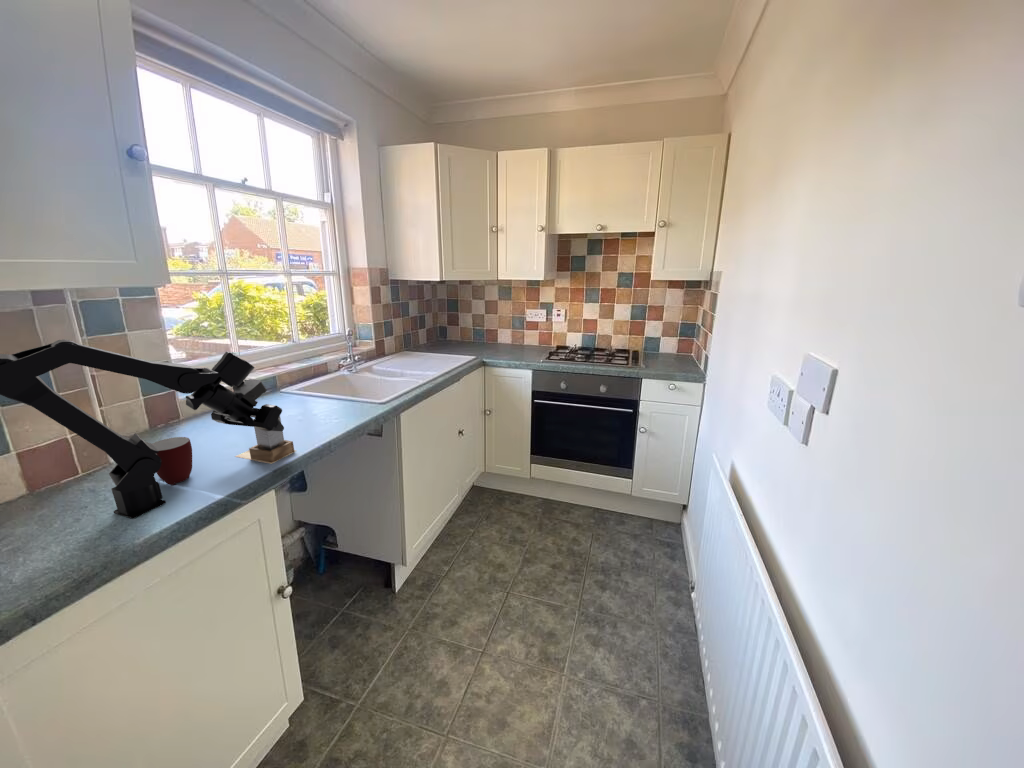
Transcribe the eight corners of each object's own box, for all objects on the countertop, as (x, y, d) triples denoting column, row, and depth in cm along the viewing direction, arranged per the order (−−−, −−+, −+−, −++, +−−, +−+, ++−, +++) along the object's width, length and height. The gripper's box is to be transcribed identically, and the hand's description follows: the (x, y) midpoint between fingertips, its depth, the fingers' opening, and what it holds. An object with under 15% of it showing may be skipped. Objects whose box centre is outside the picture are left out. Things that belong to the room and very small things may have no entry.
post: (272, 459, 110) (265, 421, 107) (259, 457, 111) (252, 419, 108) (286, 452, 114) (280, 415, 111) (273, 450, 115) (267, 413, 112)
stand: (271, 465, 108) (269, 453, 107) (235, 458, 112) (232, 446, 111) (297, 452, 115) (295, 440, 114) (262, 446, 119) (260, 434, 118)
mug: (146, 481, 100) (136, 443, 97) (185, 467, 107) (176, 432, 104) (165, 493, 95) (154, 454, 92) (204, 478, 101) (196, 441, 98)
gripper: (269, 375, 99) (310, 404, 112) (213, 369, 104) (258, 397, 117) (245, 416, 94) (291, 442, 107) (188, 407, 99) (238, 433, 112)
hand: (269, 427), depth 111 cm, fingers open, 9 cm apart
